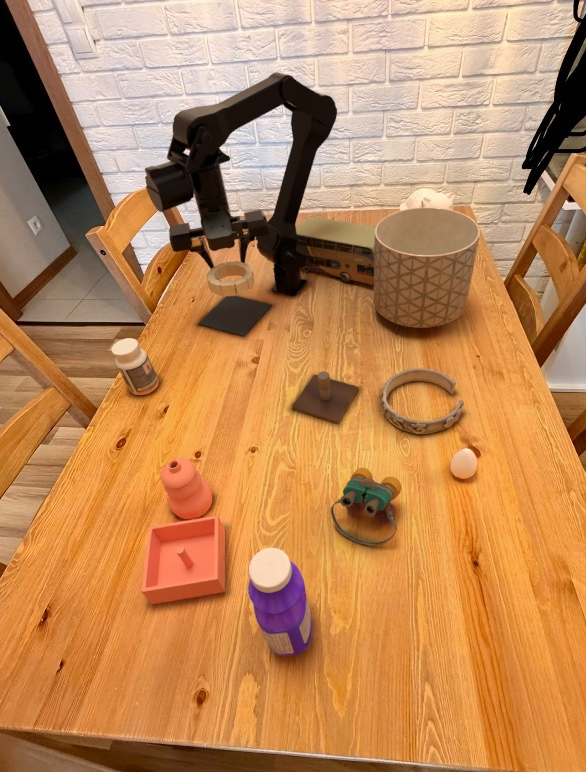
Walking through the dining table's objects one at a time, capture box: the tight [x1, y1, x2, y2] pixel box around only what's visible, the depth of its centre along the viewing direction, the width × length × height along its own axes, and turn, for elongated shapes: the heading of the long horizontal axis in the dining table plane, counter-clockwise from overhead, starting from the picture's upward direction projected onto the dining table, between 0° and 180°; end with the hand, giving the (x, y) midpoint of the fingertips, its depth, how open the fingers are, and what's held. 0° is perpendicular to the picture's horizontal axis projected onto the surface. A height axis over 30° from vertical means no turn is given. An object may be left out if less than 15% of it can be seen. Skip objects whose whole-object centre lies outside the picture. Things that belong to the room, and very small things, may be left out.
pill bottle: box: [111, 337, 160, 396], centre depth 85 cm, size 6×6×10 cm
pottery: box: [141, 457, 226, 605], centre depth 63 cm, size 18×10×10 cm, turn 8°
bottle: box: [247, 547, 314, 657], centre depth 50 cm, size 7×6×17 cm
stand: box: [291, 370, 360, 425], centre depth 80 cm, size 9×9×6 cm
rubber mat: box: [197, 295, 273, 337], centre depth 102 cm, size 12×12×1 cm
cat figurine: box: [399, 187, 456, 211], centre depth 109 cm, size 25×10×17 cm, turn 8°
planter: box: [373, 207, 481, 329], centre depth 91 cm, size 19×19×18 cm
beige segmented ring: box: [206, 260, 256, 298], centre depth 92 cm, size 9×9×2 cm
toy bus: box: [296, 216, 376, 286], centre depth 108 cm, size 10×23×10 cm, turn 58°
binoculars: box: [330, 467, 402, 547], centre depth 62 cm, size 9×9×10 cm
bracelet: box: [381, 367, 465, 435], centre depth 79 cm, size 14×14×3 cm
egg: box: [449, 447, 478, 480], centre depth 68 cm, size 4×4×6 cm
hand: (228, 270), depth 95 cm, fingers closed on beige segmented ring, 5 cm apart
